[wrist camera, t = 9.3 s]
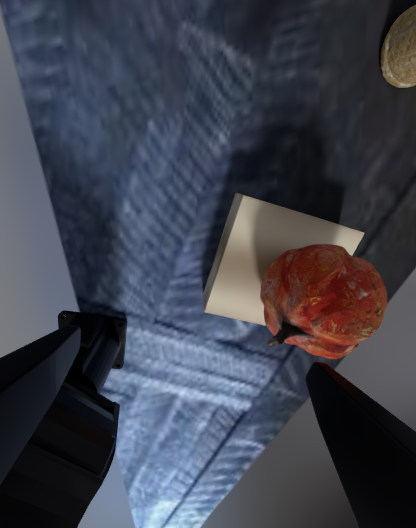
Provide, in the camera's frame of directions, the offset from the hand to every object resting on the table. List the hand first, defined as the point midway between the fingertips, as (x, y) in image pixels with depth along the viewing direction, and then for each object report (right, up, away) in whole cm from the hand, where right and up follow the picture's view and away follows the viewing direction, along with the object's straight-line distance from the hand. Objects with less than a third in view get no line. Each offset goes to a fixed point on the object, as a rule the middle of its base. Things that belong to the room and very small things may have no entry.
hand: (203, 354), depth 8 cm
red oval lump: (+7, +2, +10) cm, 13 cm away
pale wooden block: (+6, +4, +13) cm, 15 cm away
